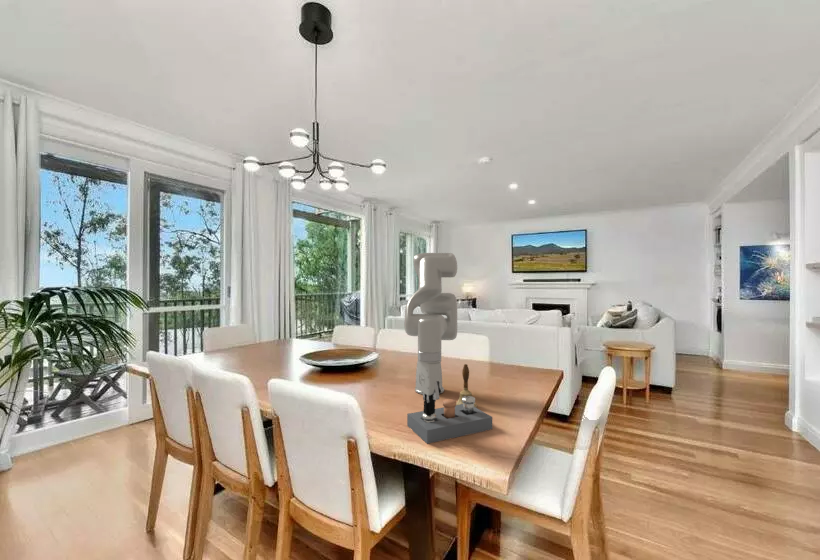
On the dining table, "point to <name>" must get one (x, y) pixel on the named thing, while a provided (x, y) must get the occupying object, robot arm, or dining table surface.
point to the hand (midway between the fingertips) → (429, 413)
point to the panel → (449, 424)
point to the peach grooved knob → (449, 408)
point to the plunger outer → (429, 417)
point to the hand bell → (465, 385)
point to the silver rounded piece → (468, 405)
